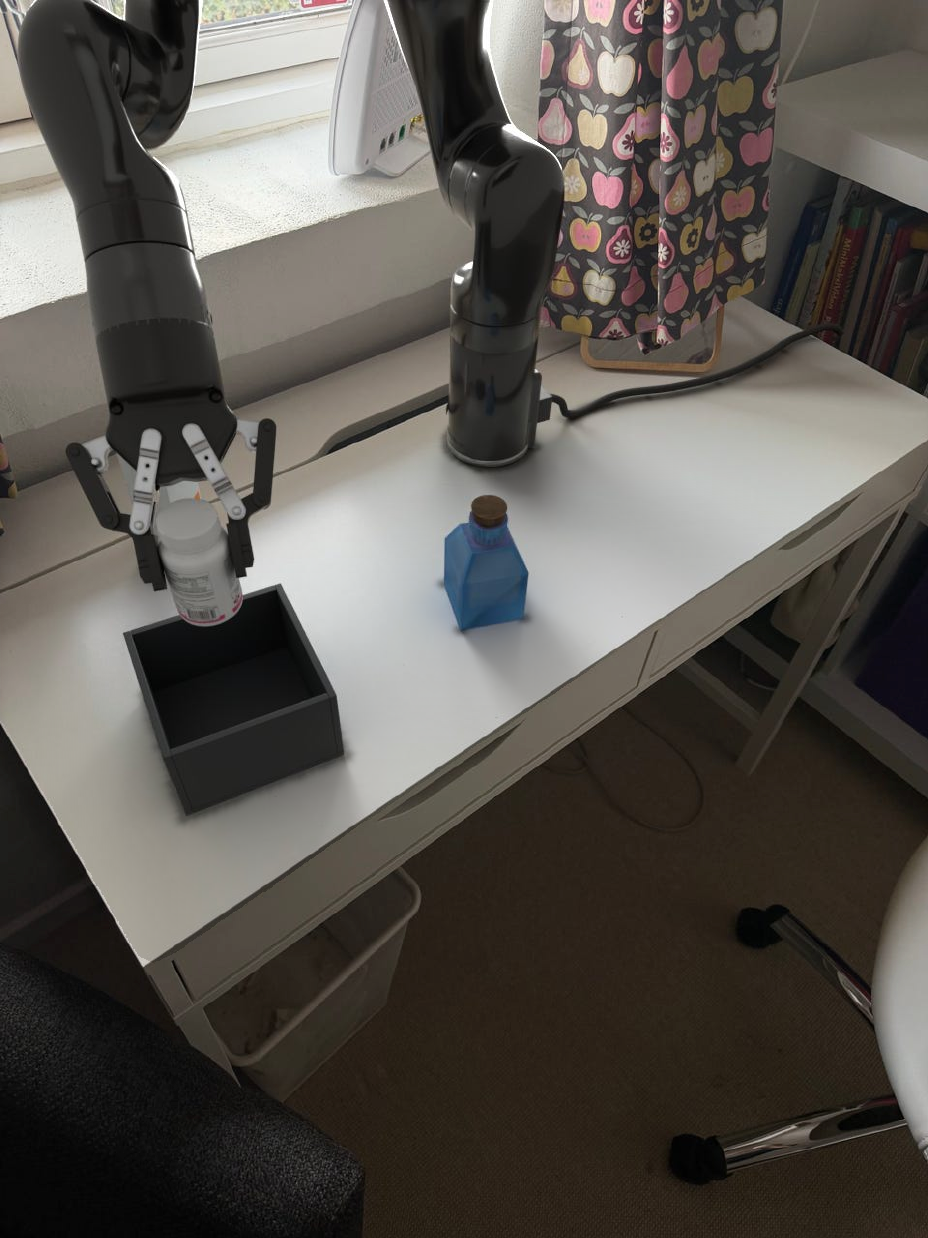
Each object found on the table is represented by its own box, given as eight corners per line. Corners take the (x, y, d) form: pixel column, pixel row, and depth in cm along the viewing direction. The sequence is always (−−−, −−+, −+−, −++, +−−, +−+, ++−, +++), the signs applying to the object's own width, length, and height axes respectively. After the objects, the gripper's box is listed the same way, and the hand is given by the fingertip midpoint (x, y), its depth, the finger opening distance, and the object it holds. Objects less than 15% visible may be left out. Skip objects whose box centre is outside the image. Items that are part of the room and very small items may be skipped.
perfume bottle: (460, 630, 82) (464, 536, 74) (443, 584, 86) (445, 489, 77) (523, 618, 84) (534, 524, 75) (503, 573, 88) (512, 479, 79)
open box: (291, 644, 81) (280, 582, 75) (344, 754, 73) (337, 695, 67) (146, 693, 77) (122, 632, 71) (186, 816, 69) (163, 759, 63)
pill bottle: (214, 571, 66) (192, 483, 60) (257, 601, 64) (239, 514, 58) (162, 606, 64) (134, 518, 58) (205, 639, 62) (181, 552, 56)
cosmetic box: (184, 554, 88) (157, 458, 79) (144, 547, 89) (112, 451, 80) (208, 515, 92) (184, 419, 83) (169, 509, 93) (142, 413, 84)
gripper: (24, 326, 53) (79, 603, 55) (262, 302, 56) (309, 565, 58) (54, 357, 61) (102, 600, 62) (263, 334, 64) (305, 567, 65)
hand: (201, 582), depth 60 cm, fingers closed on pill bottle, 4 cm apart
